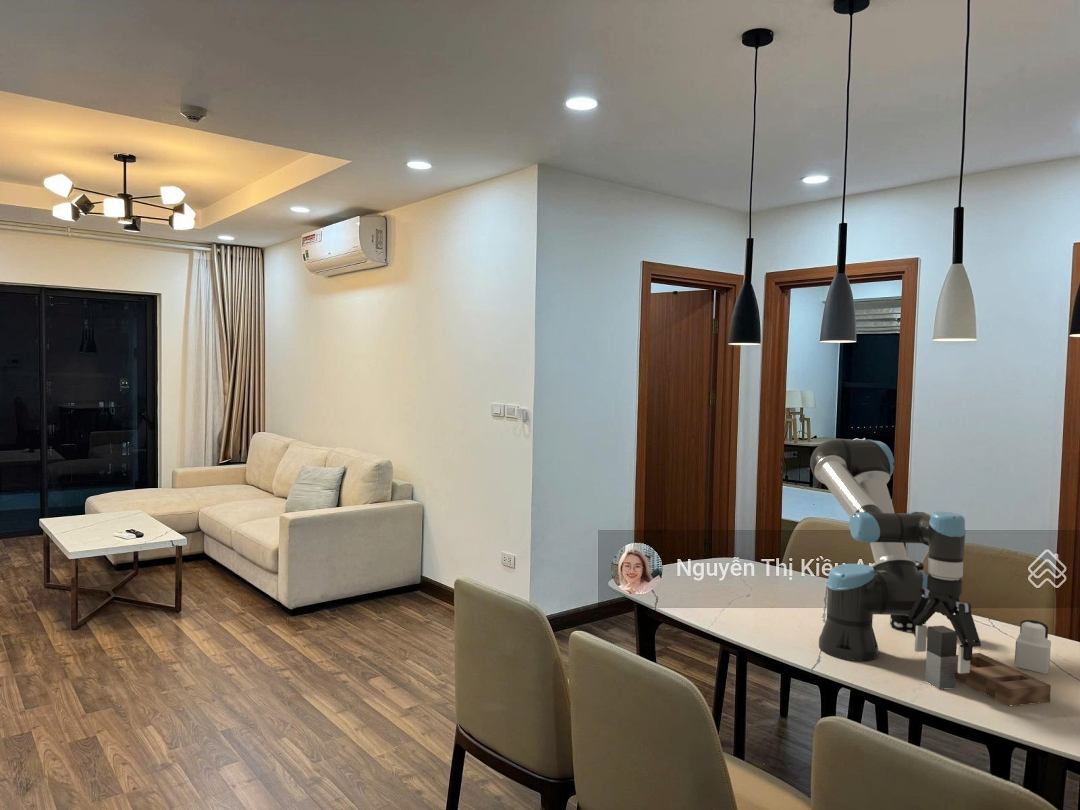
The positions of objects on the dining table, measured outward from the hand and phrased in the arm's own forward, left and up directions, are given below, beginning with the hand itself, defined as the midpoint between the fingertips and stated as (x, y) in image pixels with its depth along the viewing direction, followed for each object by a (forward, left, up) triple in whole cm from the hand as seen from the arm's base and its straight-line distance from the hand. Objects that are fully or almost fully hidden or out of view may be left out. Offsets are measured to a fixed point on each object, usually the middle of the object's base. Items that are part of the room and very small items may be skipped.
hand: (941, 661), depth 177 cm
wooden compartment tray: (+13, -3, -6) cm, 15 cm away
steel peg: (0, 0, -6) cm, 6 cm away
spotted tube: (+22, +37, -6) cm, 44 cm away
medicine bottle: (+34, +5, -6) cm, 35 cm away
